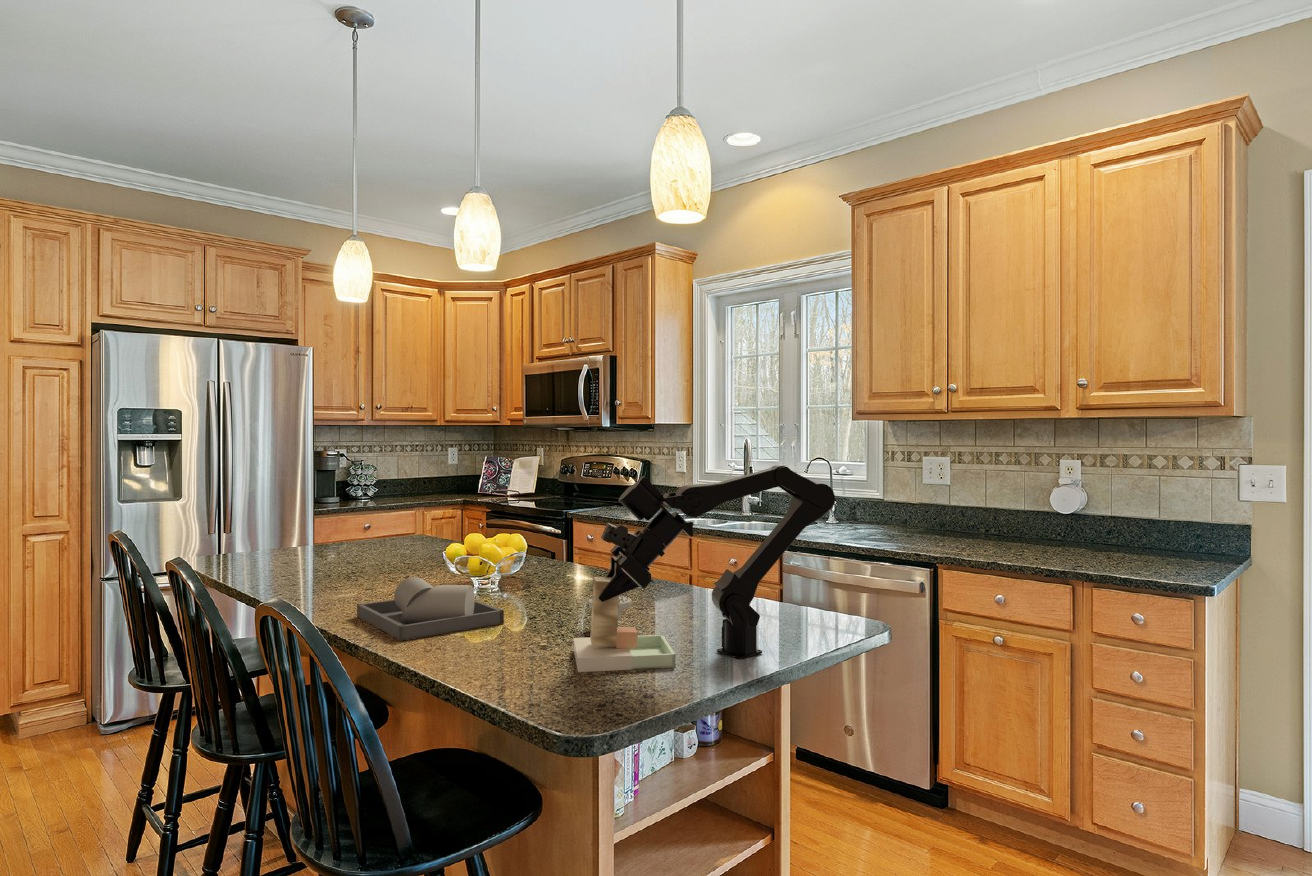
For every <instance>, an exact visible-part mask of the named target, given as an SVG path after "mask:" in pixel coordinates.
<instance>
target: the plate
mask: <svg viewBox="0 0 1312 876" xmlns="http://www.w3.org/2000/svg"><path fill="white" fill-rule="evenodd" d="M573 654H574V659H575V663H576V669H577V672H578V673H586V672H587V673H588V672H607V671H609V672H610V671H611V672H612V671H630V670H632V654H631V652H630V650H629V648H616V647H615V646H592V644H591V641H590V636H589V637H573ZM632 671H633V670H632Z"/></svg>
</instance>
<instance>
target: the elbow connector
mask: <svg viewBox="0 0 1312 876" xmlns="http://www.w3.org/2000/svg"><path fill="white" fill-rule="evenodd" d="M473 587H474V586H472V585H471V584H465V585H462V584H461V585H460V584H451V585H450V584H441V585H440V584H439V585H436V586H432V584H429V582H427V581H426V580H424V579H423V578H420V577H415V576H411V577H408V578H405V579H403V580H402V581H401V582H399V584H398V585H397V586H396V588H395V590H394V593H393V595H394V596H393V597H394V599H395V603H396V605H397V606H398V607H399V608H400V609H401V610H402V611H403V614H402V616H401V622H402V623H420V622H427V621H433V620H439V619H446V618H452V617H458V616H465V615H471V614H473V612H474V600H475V591H474V588H473ZM394 599H393V600H394Z"/></svg>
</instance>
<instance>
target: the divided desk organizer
mask: <svg viewBox="0 0 1312 876" xmlns="http://www.w3.org/2000/svg"><path fill="white" fill-rule="evenodd" d="M504 612H505V610H504V609H501V608H498V607H495V606H492V605H491V604H488V603H484V602H482V601H479V600H476V599H474V612H473V614H471V615H465V616H458V617H452V618H446V619H439V620H433V621H427V622H420V623H402V622H401V616H402V614H403V611H402V610H401V609H400V608H399V607H398V606H397V605H396V603H395V599H388V600H380V601H372V602H366V603H359V604H357V605H356V618H357V617H358V619H359V618H360V620H361V621H363V620H364V621H363V622H365V621H366V622H365V623H366V624H368V623H369V624H368V625H370V626H372V625H373V626H372V627H374V626H375V627H374V628H376V627H377V628H376V629H378V630H379V629H381V630H383V631H384V632H383V631H382V632H383V633H385V632H386V633H385V634H387V635H388V634H390V635H391V636H390V635H389V636H390V637H392V636H393V637H392V638H394V639H396V638H397V639H396V640H398V639H399V640H400V642H403V641H402V640H406V641H408V640H407V639H411V640H414V639H413V638H417V639H422V637H423V638H428V637H427V636H429V637H434V636H433V635H435V636H440V635H439V634H441V635H445V634H451V633H457V632H464V631H470V630H475V629H479V628H480V629H481V628H487V627H492V626H499V625H504V623H505V622H504V621H505V618H504V616H505V614H504ZM381 630H380V631H381ZM399 640H398V641H399Z"/></svg>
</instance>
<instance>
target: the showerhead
mask: <svg viewBox="0 0 1312 876" xmlns="http://www.w3.org/2000/svg"><path fill="white" fill-rule="evenodd" d="M592 601H593V597H592V598H589V599H588V607H589V608H590V609H591V610H592ZM631 607H632V599H631V598H630V597H628V596H626V595H622V594H620V595H619V606H618V621H617V622H619V621H620V620H622V611H623V610H627V609H630V608H631Z"/></svg>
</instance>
